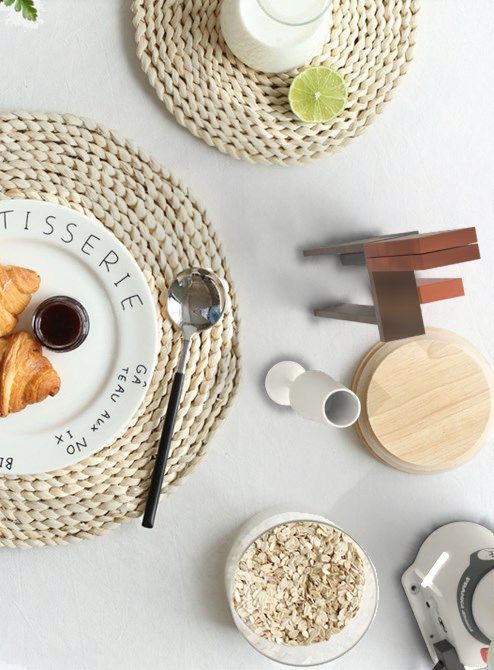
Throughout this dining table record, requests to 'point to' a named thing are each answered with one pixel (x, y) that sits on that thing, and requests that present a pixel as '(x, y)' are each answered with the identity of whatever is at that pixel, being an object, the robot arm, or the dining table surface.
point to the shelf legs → (345, 310)
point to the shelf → (410, 275)
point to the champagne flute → (312, 394)
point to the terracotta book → (439, 289)
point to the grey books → (359, 257)
